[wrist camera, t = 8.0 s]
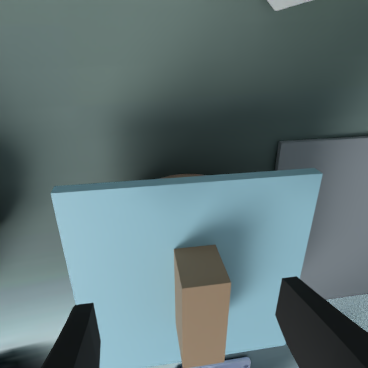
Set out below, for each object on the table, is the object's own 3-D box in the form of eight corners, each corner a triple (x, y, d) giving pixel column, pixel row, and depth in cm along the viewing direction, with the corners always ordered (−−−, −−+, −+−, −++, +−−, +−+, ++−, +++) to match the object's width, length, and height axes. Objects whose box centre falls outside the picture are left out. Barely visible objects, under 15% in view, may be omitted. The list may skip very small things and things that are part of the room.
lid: (280, 335, 23) (306, 387, 19) (93, 364, 21) (85, 427, 17) (314, 167, 17) (361, 200, 13) (54, 186, 15) (31, 229, 11)
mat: (406, 284, 30) (409, 287, 29) (256, 305, 27) (257, 309, 27) (473, 129, 23) (478, 131, 22) (278, 141, 20) (281, 143, 20)
